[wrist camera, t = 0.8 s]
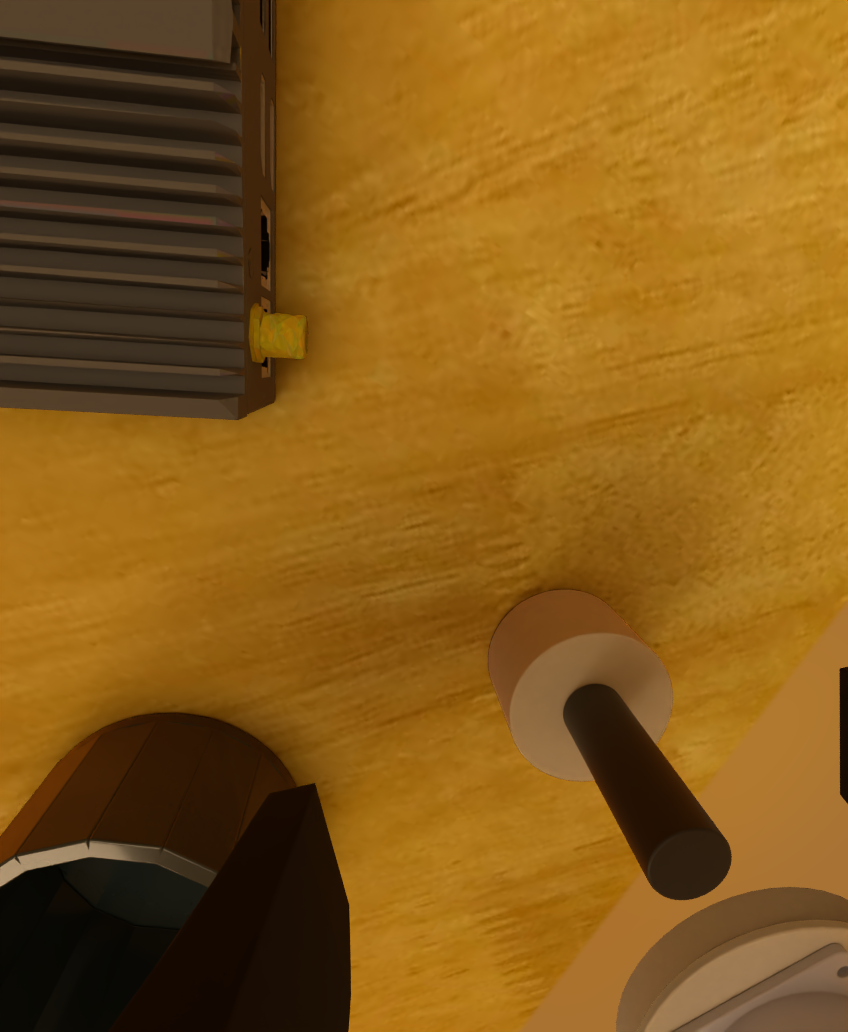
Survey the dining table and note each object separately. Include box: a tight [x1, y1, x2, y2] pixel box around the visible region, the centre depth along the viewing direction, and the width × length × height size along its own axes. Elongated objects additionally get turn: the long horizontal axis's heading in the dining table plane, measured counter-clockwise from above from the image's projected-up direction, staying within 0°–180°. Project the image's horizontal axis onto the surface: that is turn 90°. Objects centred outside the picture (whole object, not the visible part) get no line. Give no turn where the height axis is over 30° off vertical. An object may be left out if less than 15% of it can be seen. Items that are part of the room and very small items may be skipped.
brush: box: [488, 590, 732, 900], centre depth 15 cm, size 4×4×8 cm
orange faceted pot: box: [0, 713, 296, 1032], centre depth 16 cm, size 8×8×5 cm
